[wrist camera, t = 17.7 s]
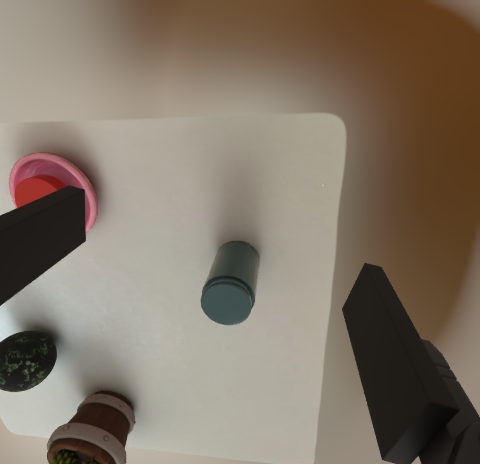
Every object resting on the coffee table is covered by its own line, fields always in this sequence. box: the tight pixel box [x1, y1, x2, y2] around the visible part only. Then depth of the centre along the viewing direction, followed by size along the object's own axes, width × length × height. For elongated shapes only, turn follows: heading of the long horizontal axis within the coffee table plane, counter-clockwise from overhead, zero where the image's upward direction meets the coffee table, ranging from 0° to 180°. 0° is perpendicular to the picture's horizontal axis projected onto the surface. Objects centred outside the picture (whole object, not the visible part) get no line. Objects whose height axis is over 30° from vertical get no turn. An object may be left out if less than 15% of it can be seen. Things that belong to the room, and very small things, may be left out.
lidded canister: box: [201, 241, 260, 325], centre depth 40 cm, size 7×7×11 cm
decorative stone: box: [0, 331, 57, 392], centre depth 53 cm, size 10×10×10 cm
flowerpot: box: [47, 391, 136, 464], centre depth 55 cm, size 14×15×20 cm
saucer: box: [9, 153, 98, 233], centre depth 42 cm, size 12×12×3 cm
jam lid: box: [14, 174, 66, 208], centre depth 40 cm, size 7×7×2 cm
